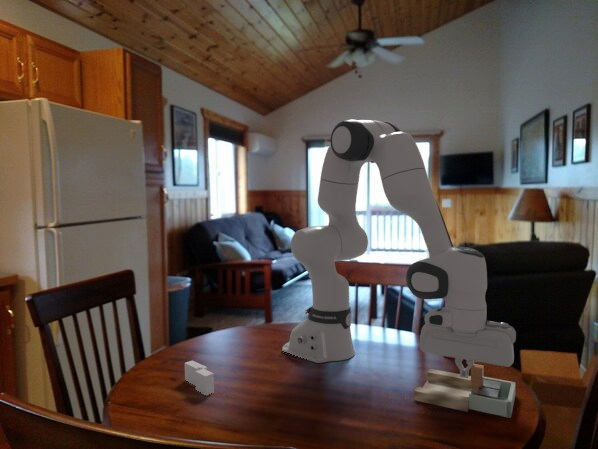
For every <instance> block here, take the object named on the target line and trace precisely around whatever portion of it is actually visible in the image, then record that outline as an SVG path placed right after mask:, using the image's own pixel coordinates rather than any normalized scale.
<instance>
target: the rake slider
mask: <svg viewBox="0 0 598 449" xmlns="http://www.w3.org/2000/svg"><path fill="white" fill-rule="evenodd" d="M484 370H485V365H482V364H477V363H474V364H473V366H472V367H471V368H470V376H471V386H473V389H472V391H471V394H473V395H477V393H478V390H479V387H480V388H482V387H483V384H484V377H485V373H484V372H485V371H484Z"/></svg>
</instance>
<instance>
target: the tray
mask: <svg viewBox="0 0 598 449" xmlns="http://www.w3.org/2000/svg"><path fill="white" fill-rule="evenodd" d="M484 379H485V380H490V381H495V382H501V397H500V400H498V399H493V398H488V397H483V396H478V395H473V394H469V409H468V410H473V411H476V412H481V413H486V414H489V415H495V416H499V417H504V418H509V419H512V415H513V409H514V406H515V399H516V387H517V386H516V385H517V384H516V383H517V382H516V381H511V380H510V381H509V380H504V379H499V378H494V377H493V378H492V377H488V376H484Z"/></svg>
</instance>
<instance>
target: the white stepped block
mask: <svg viewBox="0 0 598 449" xmlns="http://www.w3.org/2000/svg"><path fill="white" fill-rule="evenodd" d="M185 380H186V381H188V382H189V383H188V382H187V383H188V384H190V383H191V384H190V385H192V384H193V385H192V386H194V385H195V386H196V387H195V386H194V387H195V391H196V390H197V391H196V392H198V391H199V393H200V392H201V393H200V394H202V395H204V396H205V395H206V397H207V396H209V394H210V395H212V394H214V393H215V373H214V372H212V371H209V370H208V367H207V366H206V365H204V364H201V363H199V362H197V361H195V360H189V361H186V362H184V381H185ZM186 381H185V382H186ZM211 393H212V394H211Z"/></svg>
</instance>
